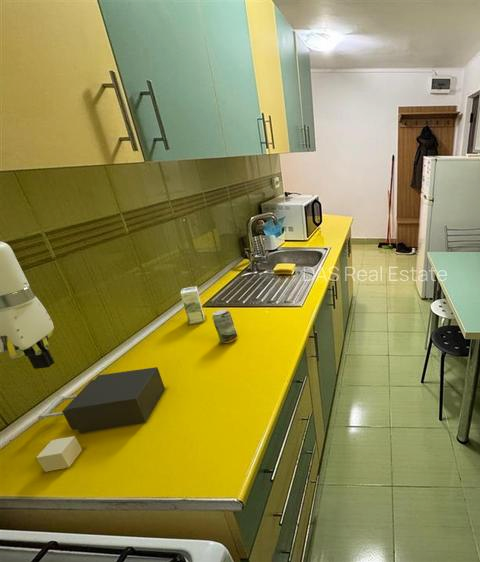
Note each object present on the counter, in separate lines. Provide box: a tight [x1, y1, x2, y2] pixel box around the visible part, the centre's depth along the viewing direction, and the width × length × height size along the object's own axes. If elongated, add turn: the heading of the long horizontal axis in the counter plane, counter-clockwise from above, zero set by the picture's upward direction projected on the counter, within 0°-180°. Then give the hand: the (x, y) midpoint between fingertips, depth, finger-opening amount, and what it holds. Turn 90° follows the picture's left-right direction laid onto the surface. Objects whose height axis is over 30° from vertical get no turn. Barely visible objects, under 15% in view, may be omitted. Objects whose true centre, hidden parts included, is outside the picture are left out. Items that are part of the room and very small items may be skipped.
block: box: [35, 435, 83, 473], centre depth 68 cm, size 4×4×4 cm
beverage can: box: [211, 308, 238, 344], centre depth 112 cm, size 6×7×12 cm
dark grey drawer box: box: [67, 366, 166, 435], centre depth 81 cm, size 15×13×8 cm
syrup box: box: [180, 285, 205, 326], centre depth 125 cm, size 6×6×14 cm
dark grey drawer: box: [37, 379, 95, 431], centre depth 80 cm, size 21×11×6 cm, turn 103°
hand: (44, 365), depth 74 cm, fingers closed
